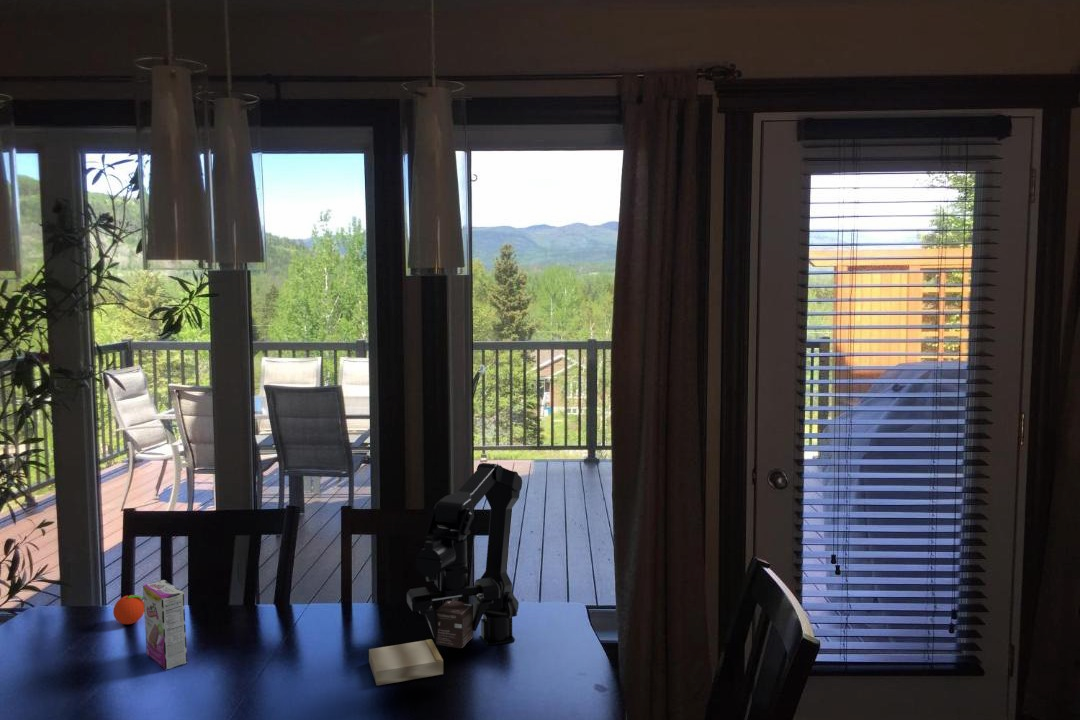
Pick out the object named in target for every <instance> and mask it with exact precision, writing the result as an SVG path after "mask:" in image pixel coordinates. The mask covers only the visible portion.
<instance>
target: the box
mask: <svg viewBox="0 0 1080 720" xmlns="http://www.w3.org/2000/svg"><path fill="white" fill-rule="evenodd" d="M435 618H436V631H437V633H436V638H435V644H436V645H438V646H443V647H444V646H445V647H448V648H450V647H451V648H456V649H463V648H464V647H465V646H466V644H467V643H469V641H470V640H472V638H473V637H474V631H473V603H469V602H463V601H455V600H450V599H447V600H446V601H445V602H444V603H443V604H442V605H440V607H438V608H437V609H436V610H435Z"/></svg>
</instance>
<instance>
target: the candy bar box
mask: <svg viewBox="0 0 1080 720" xmlns="http://www.w3.org/2000/svg"><path fill="white" fill-rule="evenodd" d="M142 591H143V593H142V595H143V596H142V597H143V598H144V599H143V598H142V599H143V602H144V614H143V616H144V630H145V646H146V647H145V648H146V656H148V657H149V656H150V657H151V658H150V657H149V658H150V659H151V660H153V661H154V662H155V663H156V662H157V663H156V664H157V665H159V666H162V667H161V668H163V669H164V671H168V670H167V669H170V670H172V669H171V668H173V669H175V668H177V666H178V667H180V666H183V665H186V663H187V664H188V651H187V647H188V646H187V636H186V635H187V632H186V631H187V630H186V629H187V627H186V613H185V612H186V610H185V609H186V608H185V607H186V606H185V592H184V591H183V590H181V589H179V588H177V587H176V586H174V585H173V584H171V583H169V582H168V580H165V579H161V580H158V581H153V582H151V583H146V584H143V585H142ZM174 667H175V668H174Z"/></svg>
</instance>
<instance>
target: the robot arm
mask: <svg viewBox="0 0 1080 720" xmlns="http://www.w3.org/2000/svg"><path fill="white" fill-rule="evenodd" d="M522 488H523V479H522V476H520V475H519V472H518V471H515V470H510V469H508V468H505V467H504V466H502V465H500V464H498V463H487V462H486V463H485V462H481V463H479V464H478V465H477V468H476V470H475V471H474V472H473V474H472V475H470V477H469V478H468V479H467V480H466V481H465V483H463V485H462V486H461V487H460V488H459V490H458V491H456V492H454V493H451V494H448V495H445V496H443V497H442V498H441V499H440V500H439V501H437V503H436V504H435V506H434V507H433V509H432V513H431V515H430V519H429V523H428V526H427V529H426V532H425V537H426V538H430V540H427V541H425V542H424V546H423V547H424V548H422V549H421V550H419V551H418V552H417V556H416V557H415V565H416V568H417V570H418V572H419V573H420V574H421V575H422V576H424V577H425V580H426V582H433V581H434V585H435V586H436V587H437V589H439V590H435V591H430V592H429V589H428V588H427V587H426V586H423V587H417V588H416V587H415V588H409V590H408V591H407V592H406V603H407V605H408V607H409V608H410V609H411V612H414V613H415V612H416V613H417V612H418V613H419V614H420V615H425V618H426V621H427V624H428V626H429V628H430V632H431V634H432V637H433V639H436V633H437V631H436V610H435V608H434V607H433V602H438V601H439V602H440V601H445V600H446V601H448V600H451V599H458V598H465V597H472V604H473V632H476V631H477V629H478V627H479V625H480V636H481V638H482V639H483V640H484V641H485V643H486V644H487V646H494V645H500V644H507V643H513V642H515V641H516V639H515V637H514V636H513V618H515V617H516V616H518V611H519V604H520V603H519V601H518V600H517V598H516V596H515V595H514V593H513V583H512V581H511V578H510V577H509V575H508V572H507V569H508V568H507V566H508V555H509V544H510V543H509V542H510V530H511V528H510V527H511V516H512V509H513V508H514V506H515V505H516V503H517V502H518V500H519V499H520V493H521V490H522ZM484 497H485V499H486V501H487V503H488V504H489V507H490V514H489V515H490V516H489V527H488V539H487V551H486V562H485V571H484V573H483V574H482V575H481V577H480V578H476V579H475V581H474V585H469V584H468V574H469V567H468V537H467V536H468V535H470V534H471V530H470V526H471V524H472V522H473V521H474V518H475V513H474V512H475V511H474V510H475V508H476V506H477V505H478V504H479V503H480V501H481V500H482V499H483V498H484ZM468 585H469V586H468Z"/></svg>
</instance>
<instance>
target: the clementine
mask: <svg viewBox="0 0 1080 720" xmlns="http://www.w3.org/2000/svg"><path fill="white" fill-rule="evenodd" d="M112 612H113V617H114V619H115V621H117V622H118V623H119V624H123V625H132V624H135V623H137V622H138V621H139V620H141V618H142V617H143V616H144V598H143V596H142V595H137V594H128V595H124V596H123V597H121V598H119V599H118V601H116V603H115V604H114V606H113V611H112Z"/></svg>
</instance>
